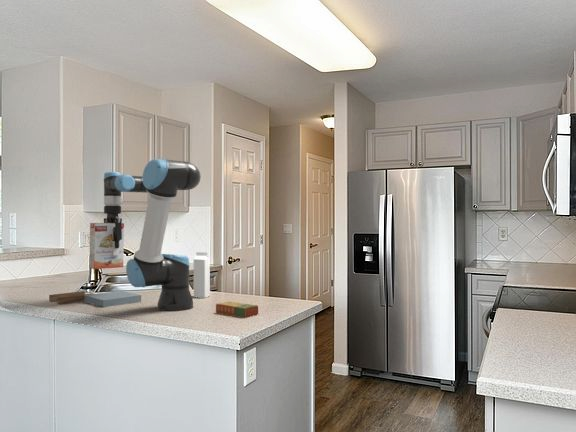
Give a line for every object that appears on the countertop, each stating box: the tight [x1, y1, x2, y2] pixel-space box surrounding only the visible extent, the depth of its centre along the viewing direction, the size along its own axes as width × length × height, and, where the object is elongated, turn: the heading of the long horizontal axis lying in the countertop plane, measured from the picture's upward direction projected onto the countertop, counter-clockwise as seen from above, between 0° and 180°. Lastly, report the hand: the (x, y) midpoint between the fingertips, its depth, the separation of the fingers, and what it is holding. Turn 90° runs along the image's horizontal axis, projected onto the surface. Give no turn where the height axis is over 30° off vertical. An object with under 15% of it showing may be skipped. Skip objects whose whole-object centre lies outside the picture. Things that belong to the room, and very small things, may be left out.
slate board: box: [83, 290, 142, 308], centre depth 217 cm, size 20×18×3 cm
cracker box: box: [88, 222, 125, 270], centre depth 216 cm, size 14×6×21 cm, turn 136°
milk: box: [193, 251, 211, 299], centre depth 230 cm, size 6×6×22 cm
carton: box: [215, 300, 259, 319], centre depth 190 cm, size 8×16×4 cm, turn 54°
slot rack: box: [48, 290, 94, 305], centre depth 221 cm, size 11×16×3 cm
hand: (112, 254), depth 218 cm, fingers closed on cracker box, 6 cm apart
